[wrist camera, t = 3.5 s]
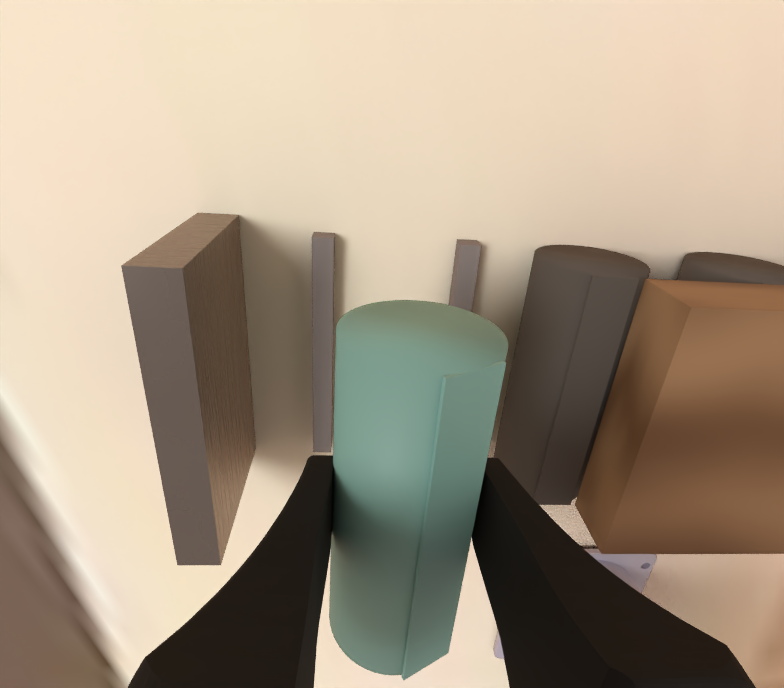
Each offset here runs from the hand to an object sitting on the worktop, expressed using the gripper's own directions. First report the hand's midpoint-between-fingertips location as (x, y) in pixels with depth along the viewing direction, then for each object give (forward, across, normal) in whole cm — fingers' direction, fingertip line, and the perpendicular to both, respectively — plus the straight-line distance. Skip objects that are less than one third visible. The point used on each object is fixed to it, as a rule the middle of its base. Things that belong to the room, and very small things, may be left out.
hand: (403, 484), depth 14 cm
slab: (+4, -15, 0) cm, 16 cm away
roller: (+2, +1, 0) cm, 2 cm away
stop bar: (+8, +7, 0) cm, 11 cm away
